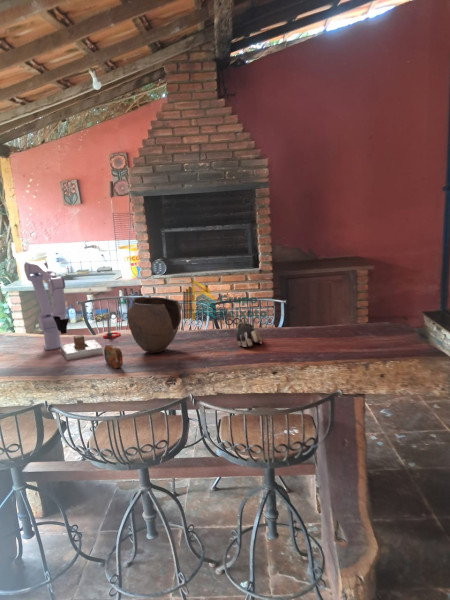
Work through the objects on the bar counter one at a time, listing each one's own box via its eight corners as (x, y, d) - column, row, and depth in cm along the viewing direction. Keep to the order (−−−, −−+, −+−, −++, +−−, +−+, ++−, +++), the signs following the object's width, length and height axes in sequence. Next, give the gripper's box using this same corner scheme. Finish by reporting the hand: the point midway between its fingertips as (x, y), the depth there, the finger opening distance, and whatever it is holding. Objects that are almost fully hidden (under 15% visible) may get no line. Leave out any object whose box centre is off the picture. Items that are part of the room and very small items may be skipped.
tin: (104, 362, 197) (102, 343, 195) (111, 360, 199) (109, 342, 197) (117, 371, 185) (115, 351, 183) (124, 369, 187) (123, 349, 185)
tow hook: (108, 334, 244) (101, 338, 235) (106, 310, 242) (99, 314, 233) (123, 334, 243) (116, 338, 234) (121, 310, 241) (114, 314, 232)
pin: (75, 352, 213) (73, 336, 211) (84, 350, 215) (82, 334, 213) (77, 354, 209) (75, 338, 208) (85, 352, 211) (84, 336, 210)
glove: (234, 340, 228) (237, 349, 203) (234, 321, 227) (237, 327, 202) (258, 341, 228) (264, 350, 203) (259, 321, 228) (265, 327, 203)
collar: (61, 351, 216) (60, 345, 215) (94, 345, 223) (94, 339, 222) (67, 360, 202) (66, 353, 201) (102, 353, 209) (102, 347, 209)
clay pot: (120, 353, 208) (115, 300, 203) (161, 341, 225) (157, 291, 220) (153, 363, 191) (148, 306, 187) (194, 349, 209) (190, 296, 204)
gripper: (47, 302, 212) (51, 330, 215) (51, 306, 200) (55, 336, 202) (62, 300, 215) (66, 328, 218) (68, 304, 203) (72, 333, 205)
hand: (62, 332), depth 210 cm, fingers open, 7 cm apart
